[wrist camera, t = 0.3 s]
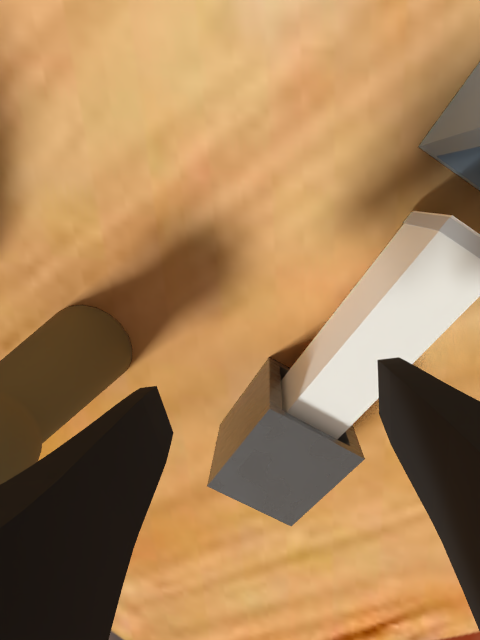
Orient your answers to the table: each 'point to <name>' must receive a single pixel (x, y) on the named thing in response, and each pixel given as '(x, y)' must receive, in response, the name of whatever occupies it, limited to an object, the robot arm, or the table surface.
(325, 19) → the table surface
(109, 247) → the table surface
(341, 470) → the metal block
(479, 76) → the socket
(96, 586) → the robot arm
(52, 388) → the olive game pawn
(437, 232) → the long white plank
